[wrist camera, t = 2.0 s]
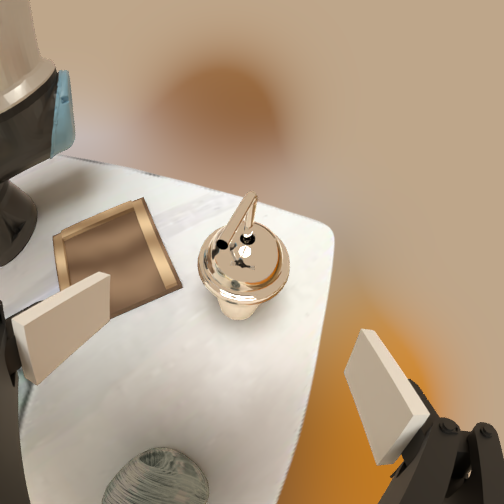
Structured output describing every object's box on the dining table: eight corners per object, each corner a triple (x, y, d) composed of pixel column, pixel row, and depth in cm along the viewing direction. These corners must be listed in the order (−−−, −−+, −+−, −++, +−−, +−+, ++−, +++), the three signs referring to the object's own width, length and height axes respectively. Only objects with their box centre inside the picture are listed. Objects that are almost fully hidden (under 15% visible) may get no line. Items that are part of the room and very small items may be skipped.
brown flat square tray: (55, 240, 36) (50, 233, 34) (144, 202, 41) (142, 193, 40) (73, 334, 29) (66, 329, 28) (182, 287, 35) (180, 280, 33)
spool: (142, 417, 23) (144, 477, 14) (217, 454, 25) (247, 512, 16) (89, 484, 19) (82, 541, 10) (158, 515, 21) (170, 569, 12)
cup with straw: (286, 306, 35) (346, 192, 18) (231, 353, 31) (245, 269, 14) (240, 260, 38) (258, 130, 21) (185, 301, 34) (156, 178, 17)
